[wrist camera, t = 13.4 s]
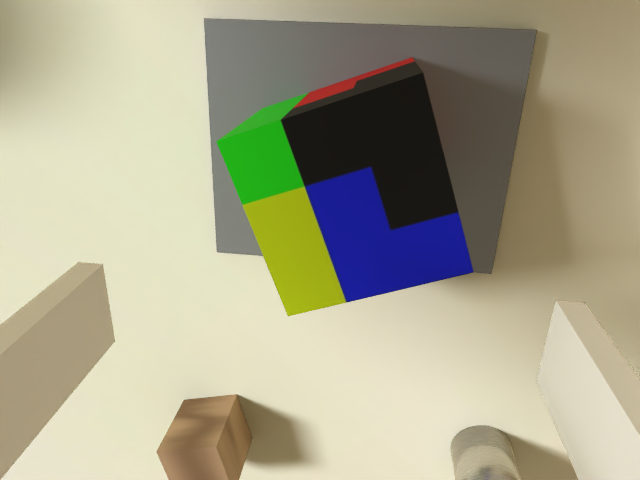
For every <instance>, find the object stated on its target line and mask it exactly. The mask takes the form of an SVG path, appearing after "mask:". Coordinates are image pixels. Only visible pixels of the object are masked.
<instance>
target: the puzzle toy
mask: <svg viewBox="0 0 640 480" xmlns="http://www.w3.org/2000/svg"><path fill="white" fill-rule="evenodd" d="M216 142H217V145H218V147H219V149H220V152H221V154H222V157H223V159H224V162H225V164H226V166H227V169H228V171H229V174H230V176H231V179H232V181H233V184H234V186H235V188H236V191H237V193H238V196H239V198H240V201H241V203H242V205H243V208H244V210H245V213H246V215H247V218H248V220H249V222H250V225H251V227H252V230H253V232H254V235H255V237H256V239H257V242H258V244H259V247H260V249H261V252H262V254H263V256H264V259H265V261H266V264H267V266H268V269H269V271H270V273H271V276H272V278H273V281H274V283H275V286H276V288H277V291H278V293H279V295H280V298H281V300H282V303H283V305H284V308H285V310H286V312H287V315H288V316H291V315H295V314H300V313H304V312H308V311H312V310H317V309H321V308H325V307H329V306H333V305H338V304H342V303H346V302H350V301H355V300H359V299H363V298H367V297H372V296H376V295H380V294H384V293H388V292H393V291H397V290H401V289H405V288H410V287H414V286H418V285H422V284H426V283H431V282H435V281H439V280H443V279H448V278H452V277H456V276H460V275H464V274H469V273H473V272H474V271H473V267H472V263H471V259H470V255H469V251H468V247H467V243H466V239H465V235H464V231H463V227H462V224H461V220H460V216H459V212H458V208H457V204H456V200H455V196H454V192H453V188H452V184H451V180H450V176H449V172H448V168H447V164H446V160H445V156H444V152H443V148H442V144H441V141H440V137H439V133H438V129H437V125H436V121H435V117H434V113H433V109H432V105H431V101H430V97H429V93H428V89H427V85H426V81H425V77H424V73H423V71H422V70H421V69H420V67H419V66H418V65H417V63H416V62H415V61H414V59H413V58H412V57H411V58H408V59H405V60H402V61H399V62H396V63H393V64H391V65H388V66H385V67H382V68H379V69H376V70H373V71H370V72H367V73H364V74H361V75H358V76H355V77H353V78H350V79H347V80H344V81H341V82H338V83H335V84H332V85H329V86H326V87H323V88H320V89H317V90H315V91H312V92H309V93H306V94H303V95H300V96H297V97H294V98H291V99H288V100H285V101H282V102H279V103H277V104H274V105H271V106H268V107H265V108H262V109H261V110H259V111H258V112H257V113H255V114H254V115H252V116H251V117H250V118H248V119H247V120H245V121H244V122H243V123H241V124H240V125H238V126H237V127H236V128H234V129H233V130H231V131H230V132H229V133H227V134H226V135H224V136H223V137H222V138H220V139H219V140H217V141H216Z"/></svg>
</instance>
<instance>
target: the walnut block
mask: <svg viewBox="0 0 640 480" xmlns="http://www.w3.org/2000/svg"><path fill="white" fill-rule="evenodd" d="M251 440H252V437H251V434H250V431H249V428H248V425H247V422H246V419H245V416H244V413H243V411H242V408H241V405H240V402H239V399H238V396H237V394H236V395H226V396H217V397H207V398H198V399H188V400H184V401H183V403H182V405H181V407H180V409H179V410H178V412H177V414H176V416H175V418H174V420H173V422H172V424H171V425H170V427H169V429H168V431H167V433H166V435H165V437H164V439H163V440H162V442H161V444H160V446H159V448H158V450H157V454H158V456H159V458H160V461H161V463H162V465H163V467H164V470H165V472H166V474H167V477H168V479H169V480H239V478H240V475H241V472H242V468H243V465H244V462H245V459H246V456H247V453H248V450H249V447H250V443H251Z"/></svg>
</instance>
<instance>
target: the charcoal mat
mask: <svg viewBox="0 0 640 480" xmlns="http://www.w3.org/2000/svg"><path fill="white" fill-rule="evenodd" d="M204 28H205V46H206V64H207V82H208V100H209V118H210V136H211V154H212V172H213V190H214V208H215V226H216V244H217V252H221V253H233V254H246V255H259V256H263V254H262V252H261V249H260V247H259V244H258V242H257V239H256V237H255V235H254V232H253V230H252V227H251V225H250V222H249V220H248V218H247V215H246V213H245V210H244V208H243V205H242V203H241V201H240V198H239V196H238V193H237V191H236V188H235V186H234V184H233V181H232V179H231V176H230V174H229V171H228V169H227V166H226V164H225V162H224V159H223V157H222V154H221V152H220V149H219V147H218V145H217V142H216V141H217V140H219V139H220V138H222V137H223V136H224V135H226V134H227V133H229V132H230V131H231V130H233V129H234V128H236V127H237V126H238V125H240V124H241V123H243V122H244V121H245V120H247V119H248V118H250V117H251V116H252V115H254V114H255V113H257V112H258V111H259V110H261V109H262V108H265V107H268V106H271V105H274V104H277V103H279V102H282V101H285V100H288V99H291V98H294V97H297V96H300V95H303V94H306V93H309V92H312V91H315V90H317V89H320V88H323V87H326V86H329V85H332V84H335V83H338V82H341V81H344V80H347V79H350V78H353V77H355V76H358V75H361V74H364V73H367V72H370V71H373V70H376V69H379V68H382V67H385V66H388V65H391V64H393V63H396V62H399V61H402V60H405V59H408V58H411V57H412V58H413V59H414V61H415V62H416V63H417V65H418V66H419V67H420V69H421V70H422V71H423V73H424V77H425V81H426V85H427V89H428V93H429V97H430V101H431V105H432V109H433V113H434V117H435V121H436V125H437V129H438V133H439V137H440V141H441V144H442V148H443V152H444V156H445V160H446V164H447V168H448V172H449V176H450V180H451V184H452V188H453V192H454V196H455V200H456V204H457V208H458V212H459V216H460V220H461V224H462V227H463V231H464V235H465V239H466V243H467V247H468V251H469V255H470V259H471V263H472V267H473V271H474V272H476V273H488V274H492V269H493V263H494V258H495V252H496V247H497V242H498V236H499V231H500V225H501V220H502V215H503V209H504V204H505V199H506V193H507V188H508V182H509V177H510V172H511V166H512V161H513V156H514V150H515V145H516V139H517V134H518V129H519V123H520V118H521V112H522V107H523V102H524V96H525V91H526V86H527V80H528V75H529V69H530V64H531V59H532V53H533V48H534V43H535V37H536V32H537V30H530V29H501V28H471V27H442V26H413V25H384V24H355V23H326V22H296V21H267V20H238V19H209V18H204Z"/></svg>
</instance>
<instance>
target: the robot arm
mask: <svg viewBox="0 0 640 480" xmlns="http://www.w3.org/2000/svg"><path fill="white" fill-rule="evenodd" d="M114 342H115V339H114V332H113V326H112V320H111V313H110V307H109V301H108V294H107V288H106V282H105V275H104V269H103V264H94V263H81V262H78V263H77V264H76V265H74V266H73V267H72V268H71V269H69V270H68V271H67V272H66V273H65V274H63V275H62V276H61V277H60V278H58V279H57V280H56V281H55V282H53V283H52V284H51V285H50V286H48V287H47V288H46V289H45V290H43V291H42V292H41V293H40V294H38V295H37V296H36V297H35V298H33V299H32V300H31V301H30V302H28V303H27V304H26V305H25V306H24V307H22V308H21V309H20V310H19V311H17V312H16V313H15V314H14V315H12V316H11V317H10V318H9V319H7V320H6V321H5V322H4V323H2V324H1V325H0V480H1V478H2V477H3V476H4V475H5V473H6V472H7V471H8V470H9V469H10V467H11V466H12V465H13V464H14V463H15V461H16V460H17V459H18V458H19V457H20V455H21V454H22V453H23V452H24V450H25V449H26V448H27V447H28V446H29V444H30V443H31V442H32V441H33V440H34V438H35V437H36V436H37V435H38V434H39V432H40V431H41V430H42V429H43V427H44V426H45V425H46V424H47V423H48V421H49V420H50V419H51V418H52V417H53V415H54V414H55V413H56V412H57V411H58V409H59V408H60V407H61V406H62V404H63V403H64V402H65V401H66V400H67V398H68V397H69V396H70V395H71V394H72V392H73V391H74V390H75V389H76V388H77V386H78V385H79V384H80V383H81V381H82V380H83V379H84V378H85V377H86V375H87V374H88V373H89V372H90V371H91V369H92V368H93V367H94V366H95V365H96V363H97V362H98V361H99V360H100V358H101V357H102V356H103V355H104V354H105V352H106V351H107V350H108V349H109V348H110V346H111V345H112V344H113V343H114ZM536 382H537V384H538V386H539V389H540V391H541V393H542V396H543V398H544V401H545V403H546V405H547V408H548V410H549V412H550V415H551V417H552V419H553V422H554V424H555V426H556V429H557V431H558V433H559V436H560V438H561V440H562V443H563V445H564V447H565V450H566V452H567V454H568V457H569V459H570V461H571V464H572V466H573V469H574V471H575V473H576V476H577V478H578V480H640V379H639V378H638V376H637V375H636V374H635V372H634V371H633V369H632V368H631V367H630V365H629V364H628V362H627V361H626V360H625V358H624V357H623V355H622V354H621V353H620V351H619V350H618V348H617V347H616V346H615V344H614V343H613V341H612V340H611V339H610V337H609V336H608V334H607V333H606V332H605V330H604V329H603V327H602V326H601V325H600V323H599V322H598V320H597V319H596V318H595V316H594V315H593V313H592V312H591V311H590V309H589V308H588V306H587V305H586V304H585V303H582V302H570V301H557V300H556V302H555V306H554V310H553V314H552V318H551V322H550V326H549V330H548V334H547V338H546V342H545V346H544V350H543V354H542V358H541V362H540V366H539V370H538V374H537V378H536Z"/></svg>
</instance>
